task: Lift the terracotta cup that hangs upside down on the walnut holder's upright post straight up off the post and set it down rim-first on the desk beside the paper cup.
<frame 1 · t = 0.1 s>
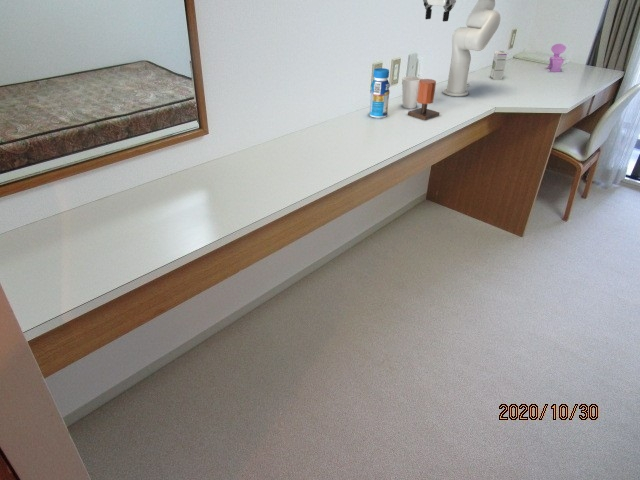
hand: (436, 20, 204), 37 cm above the table, tool pointing down, fingers open, 9 cm apart
holder: (423, 115, 205), on the table
pink figurine: (553, 70, 281), on the table
foam cup: (409, 106, 217), on the table
beverage bottle: (378, 115, 205), on the table
cup: (425, 101, 202), point 6 cm above the table, touching holder
syrup box: (495, 78, 264), on the table
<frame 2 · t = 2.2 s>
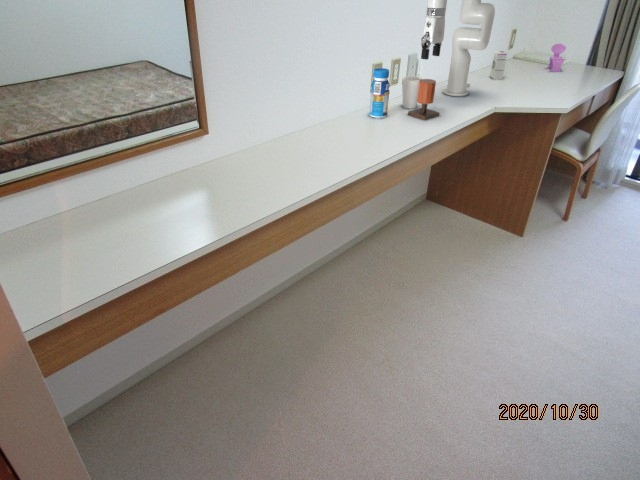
hand: (430, 57, 192), 25 cm above the table, tool pointing down, fingers open, 9 cm apart
nothing on the table moved.
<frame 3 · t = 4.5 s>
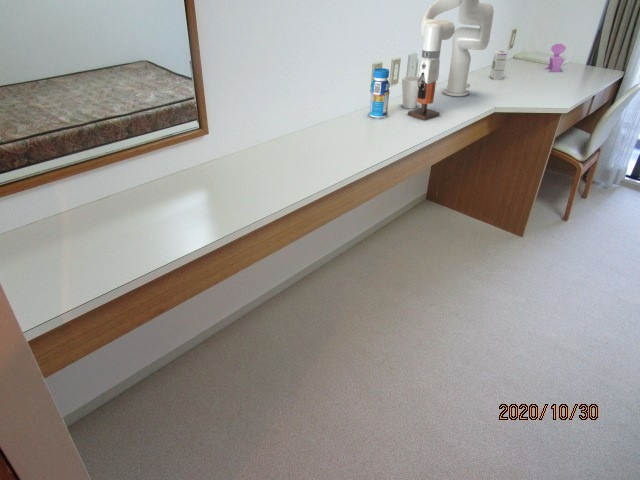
hand: (425, 96, 201), 9 cm above the table, tool pointing down, fingers closed on cup, 7 cm apart
cup: (425, 101, 202), point 6 cm above the table, touching gripper, holder
everything else where it was.
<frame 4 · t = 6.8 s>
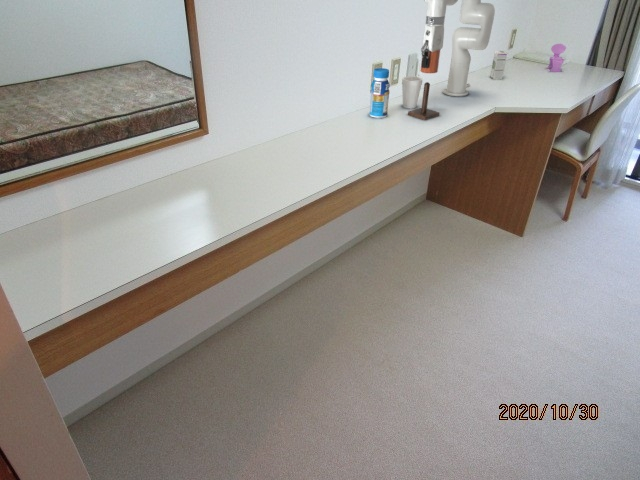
hand: (429, 65, 194), 21 cm above the table, tool pointing down, fingers closed on cup, 7 cm apart
cup: (429, 71, 195), point 19 cm above the table, touching gripper
everything else where it was.
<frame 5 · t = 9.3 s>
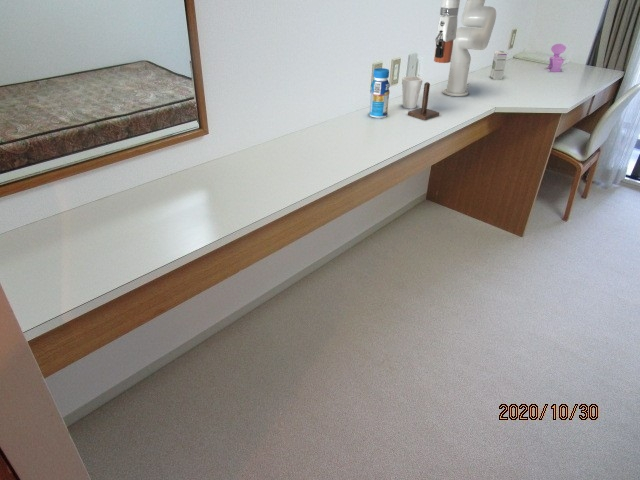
hand: (443, 55, 201), 24 cm above the table, tool pointing down, fingers closed on cup, 7 cm apart
cup: (442, 61, 203), point 21 cm above the table, touching gripper
everything else where it was.
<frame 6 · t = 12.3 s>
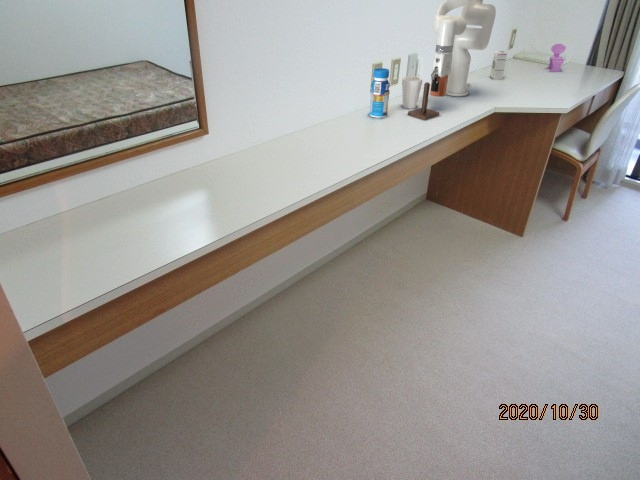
hand: (438, 89, 209), 9 cm above the table, tool pointing down, fingers closed on cup, 7 cm apart
cup: (437, 94, 211), point 6 cm above the table, touching gripper
everything else where it was.
when the fingers open (2 cm above the table, at t = 14.4 s): cup stays where it is, on the table.
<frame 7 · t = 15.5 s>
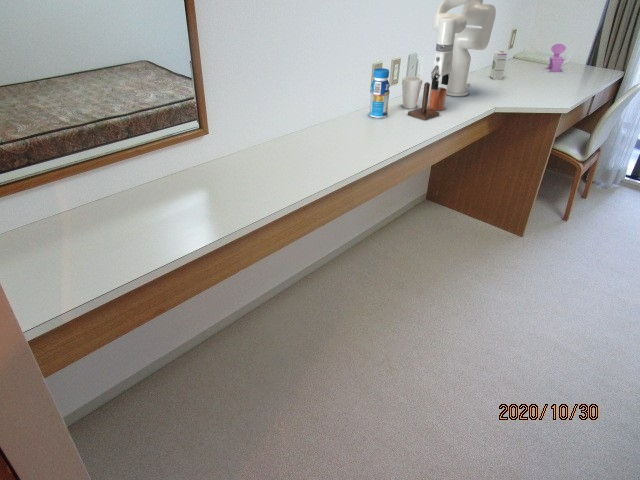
hand: (439, 86, 210), 10 cm above the table, tool pointing down, fingers open, 9 cm apart
cup: (435, 108, 214), on the table
everything else where it was.
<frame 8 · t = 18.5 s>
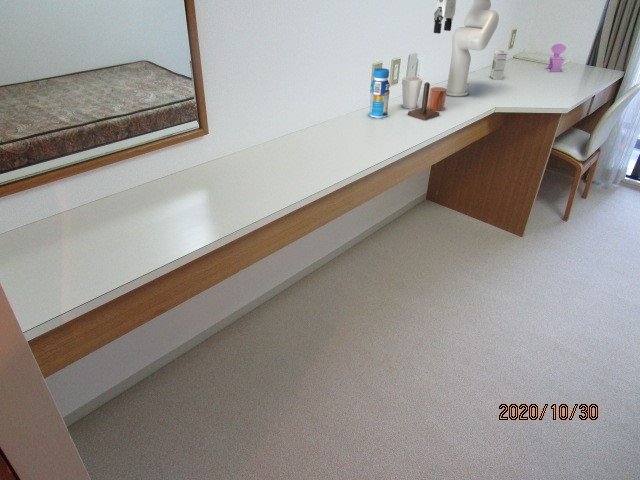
hand: (442, 31, 203), 32 cm above the table, tool pointing down, fingers open, 9 cm apart
nothing on the table moved.
at the end: cup inside the target area (0.1 cm from its centre), on the table; cup 12.5 cm from the foam cup (horizontally); cup tilted 0° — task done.
